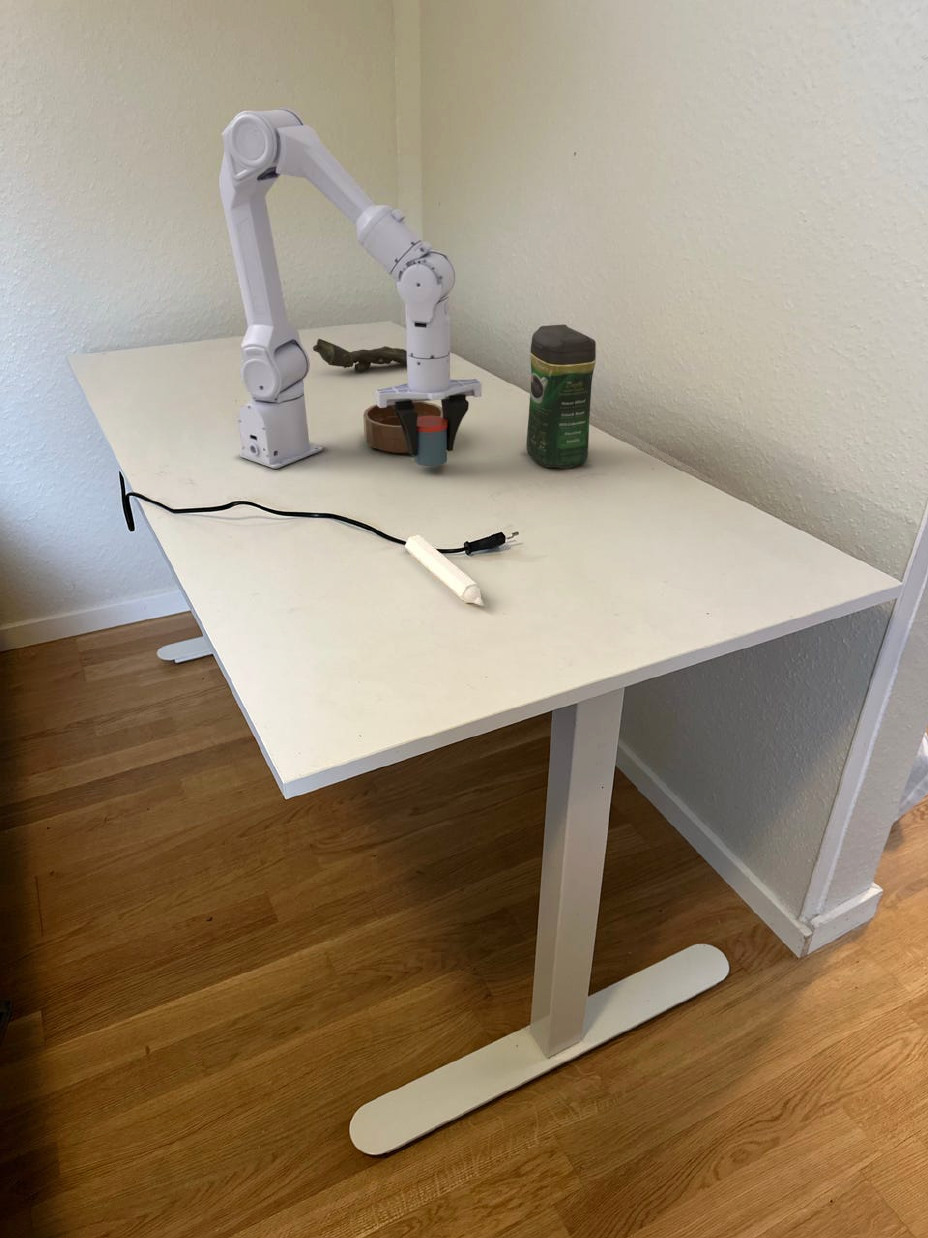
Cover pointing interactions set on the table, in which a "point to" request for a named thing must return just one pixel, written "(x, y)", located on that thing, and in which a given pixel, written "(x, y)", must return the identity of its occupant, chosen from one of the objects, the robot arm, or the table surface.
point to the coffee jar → (560, 396)
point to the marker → (444, 570)
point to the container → (431, 441)
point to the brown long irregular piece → (358, 356)
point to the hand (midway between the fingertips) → (430, 450)
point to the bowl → (392, 426)
